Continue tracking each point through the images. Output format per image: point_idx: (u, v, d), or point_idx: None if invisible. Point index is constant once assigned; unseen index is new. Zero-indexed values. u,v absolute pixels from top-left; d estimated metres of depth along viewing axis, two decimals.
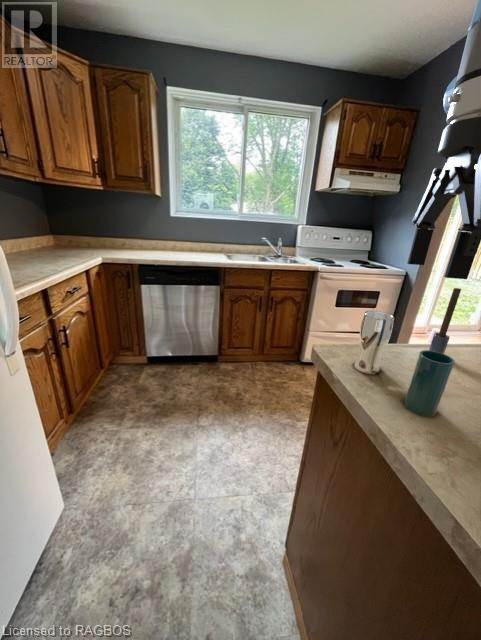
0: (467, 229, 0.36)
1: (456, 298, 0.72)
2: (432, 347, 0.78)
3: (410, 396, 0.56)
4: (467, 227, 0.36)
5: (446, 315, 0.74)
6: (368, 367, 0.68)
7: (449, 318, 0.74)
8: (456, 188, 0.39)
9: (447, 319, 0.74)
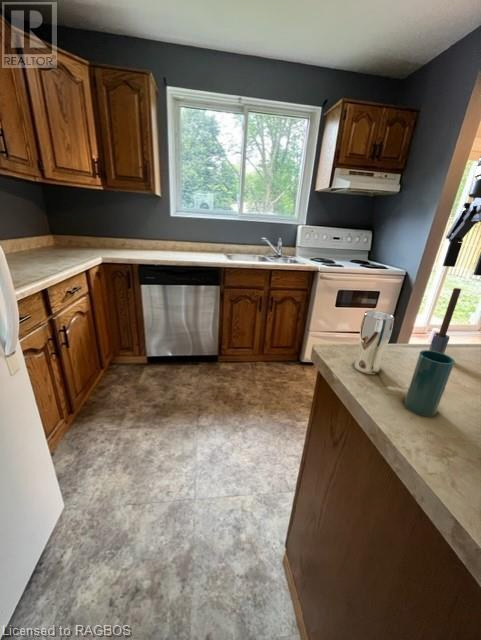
0: None
1: (456, 298, 0.72)
2: (432, 347, 0.78)
3: (410, 396, 0.56)
4: None
5: (446, 315, 0.74)
6: (368, 367, 0.68)
7: (449, 318, 0.74)
8: None
9: (447, 319, 0.74)
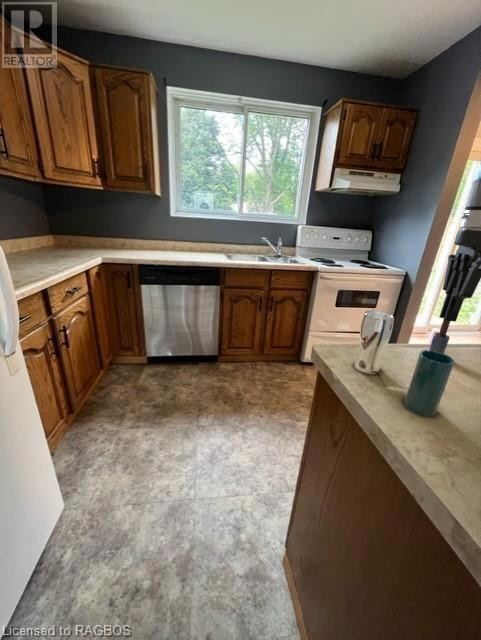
0: (454, 297, 0.71)
1: None
2: (432, 347, 0.78)
3: (410, 396, 0.56)
4: (454, 297, 0.71)
5: None
6: (368, 367, 0.68)
7: None
8: (460, 269, 0.69)
9: None
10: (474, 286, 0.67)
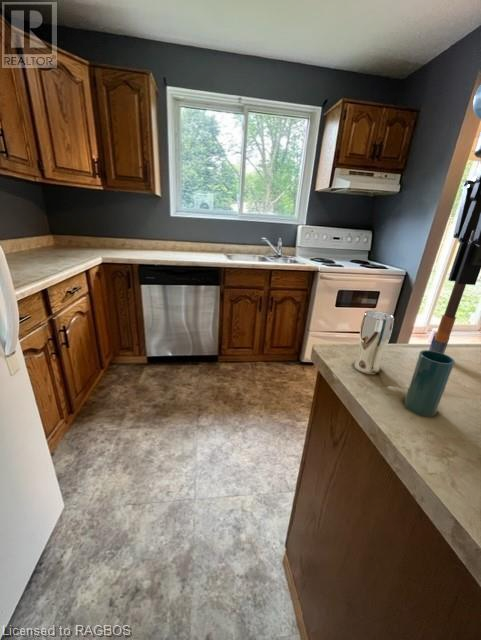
0: None
1: None
2: (432, 347, 0.78)
3: (410, 396, 0.56)
4: (474, 243, 0.43)
5: None
6: (368, 367, 0.68)
7: None
8: None
9: None
10: None
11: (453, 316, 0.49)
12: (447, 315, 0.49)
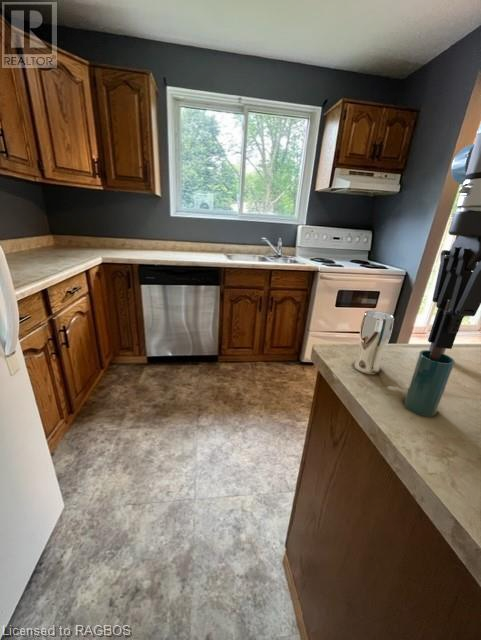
0: (449, 314, 0.47)
1: None
2: (432, 347, 0.78)
3: (410, 396, 0.56)
4: (449, 314, 0.47)
5: None
6: (368, 367, 0.68)
7: None
8: (457, 273, 0.45)
9: None
10: (479, 298, 0.43)
11: None
12: None
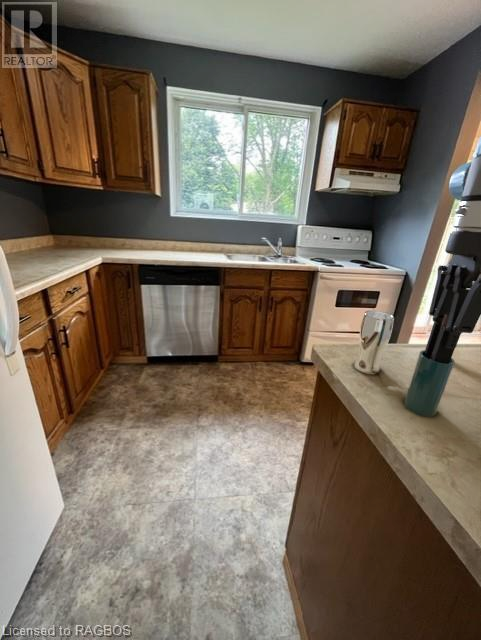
0: (447, 331, 0.48)
1: None
2: None
3: (410, 396, 0.56)
4: (447, 330, 0.48)
5: None
6: (368, 367, 0.68)
7: None
8: (454, 290, 0.47)
9: None
10: (476, 316, 0.44)
11: None
12: None
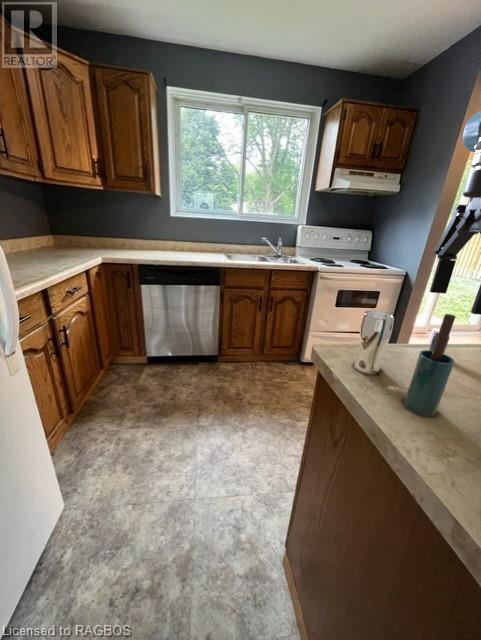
0: None
1: (449, 329, 0.50)
2: (432, 347, 0.78)
3: (410, 396, 0.56)
4: None
5: (434, 352, 0.52)
6: (368, 367, 0.68)
7: (438, 356, 0.52)
8: None
9: (436, 357, 0.52)
10: None
11: None
12: None
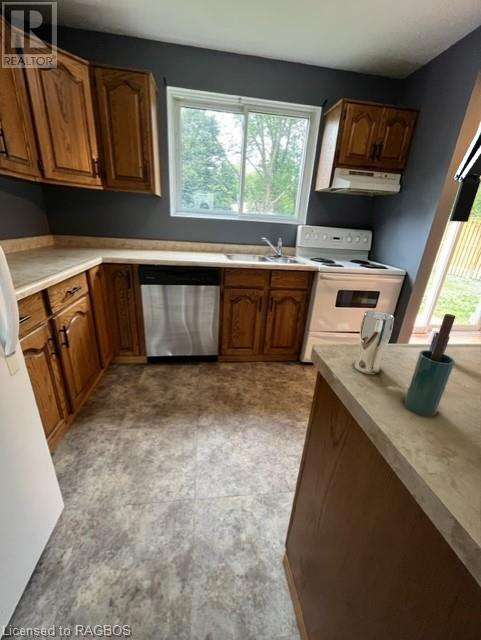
0: None
1: (449, 329, 0.50)
2: (432, 347, 0.78)
3: (410, 396, 0.56)
4: None
5: (434, 352, 0.52)
6: (368, 367, 0.68)
7: (438, 356, 0.52)
8: None
9: (436, 357, 0.52)
10: None
11: None
12: None
